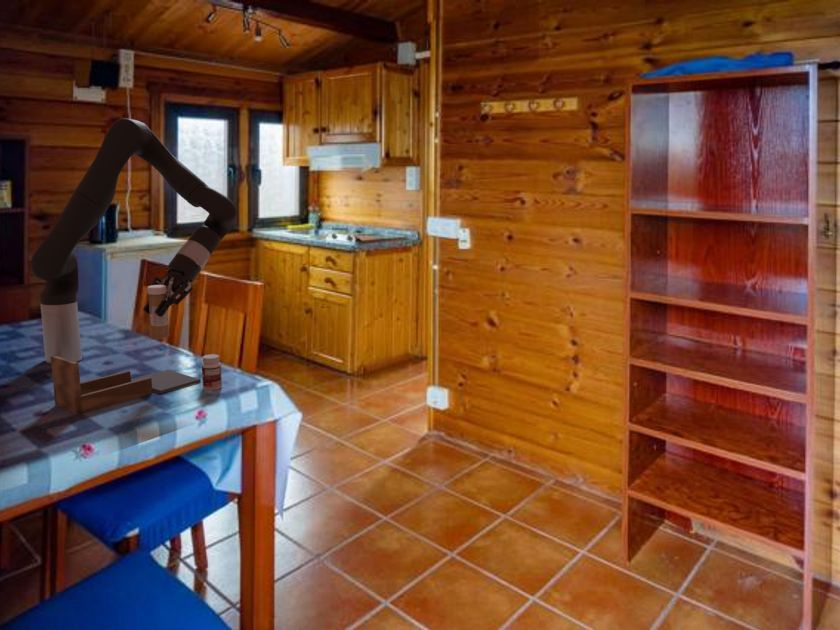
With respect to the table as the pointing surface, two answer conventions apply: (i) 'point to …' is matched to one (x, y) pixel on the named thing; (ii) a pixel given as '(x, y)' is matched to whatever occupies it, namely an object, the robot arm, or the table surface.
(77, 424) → the table surface
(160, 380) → the rubber mat
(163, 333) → the sprinkles bottle
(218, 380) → the pill bottle
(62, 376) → the shelf lane
